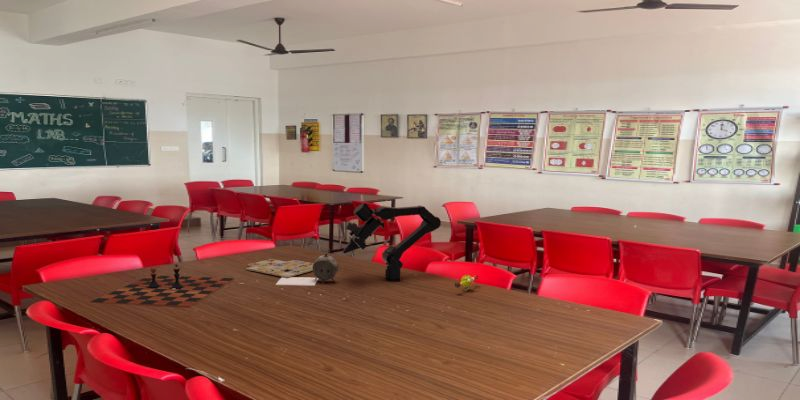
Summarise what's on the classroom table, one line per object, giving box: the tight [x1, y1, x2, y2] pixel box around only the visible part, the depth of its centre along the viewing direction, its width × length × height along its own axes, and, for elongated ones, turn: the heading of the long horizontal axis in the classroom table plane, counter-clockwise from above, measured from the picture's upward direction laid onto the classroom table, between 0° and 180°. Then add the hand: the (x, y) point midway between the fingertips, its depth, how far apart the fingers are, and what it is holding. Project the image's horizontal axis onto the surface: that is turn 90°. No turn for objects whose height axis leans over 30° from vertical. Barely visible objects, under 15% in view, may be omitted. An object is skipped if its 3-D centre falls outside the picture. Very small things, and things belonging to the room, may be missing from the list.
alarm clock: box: [312, 246, 339, 284], centre depth 227 cm, size 11×5×16 cm, turn 84°
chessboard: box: [90, 263, 235, 308], centre depth 212 cm, size 40×40×11 cm
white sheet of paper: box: [275, 276, 319, 287], centre depth 229 cm, size 17×12×1 cm
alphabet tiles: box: [245, 258, 314, 278], centre depth 253 cm, size 33×28×1 cm
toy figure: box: [454, 274, 479, 292], centre depth 220 cm, size 18×6×7 cm, turn 143°
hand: (343, 252), depth 228 cm, fingers closed
